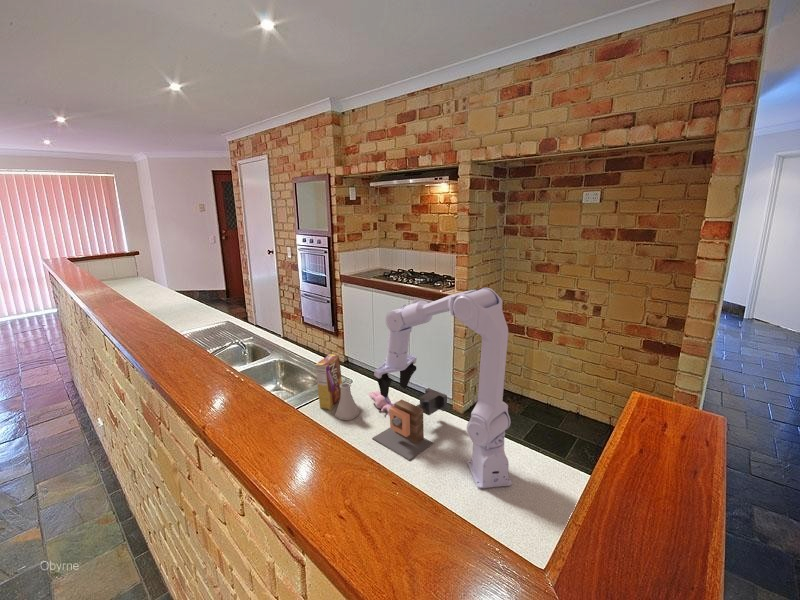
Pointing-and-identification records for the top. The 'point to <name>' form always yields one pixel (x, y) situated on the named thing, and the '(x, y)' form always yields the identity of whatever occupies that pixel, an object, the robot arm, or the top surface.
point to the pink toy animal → (381, 401)
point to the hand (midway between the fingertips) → (393, 391)
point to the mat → (401, 444)
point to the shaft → (429, 404)
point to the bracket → (412, 420)
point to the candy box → (329, 381)
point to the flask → (346, 404)
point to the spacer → (405, 418)
